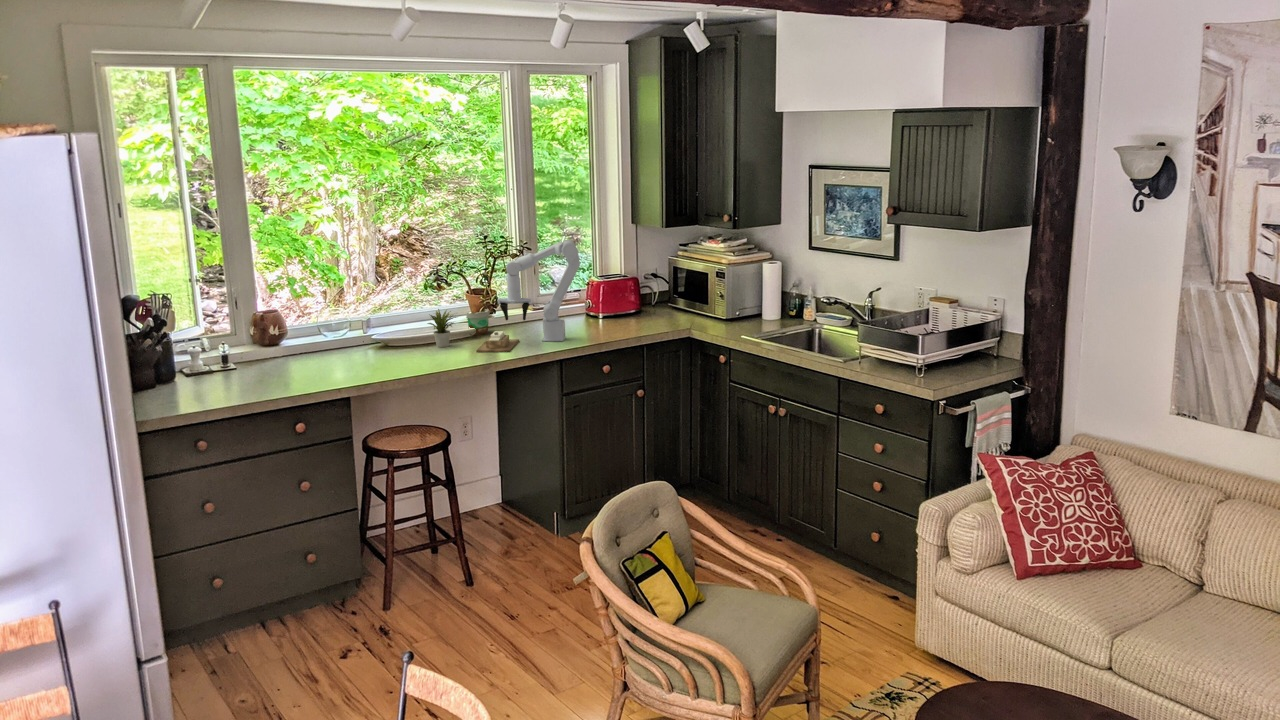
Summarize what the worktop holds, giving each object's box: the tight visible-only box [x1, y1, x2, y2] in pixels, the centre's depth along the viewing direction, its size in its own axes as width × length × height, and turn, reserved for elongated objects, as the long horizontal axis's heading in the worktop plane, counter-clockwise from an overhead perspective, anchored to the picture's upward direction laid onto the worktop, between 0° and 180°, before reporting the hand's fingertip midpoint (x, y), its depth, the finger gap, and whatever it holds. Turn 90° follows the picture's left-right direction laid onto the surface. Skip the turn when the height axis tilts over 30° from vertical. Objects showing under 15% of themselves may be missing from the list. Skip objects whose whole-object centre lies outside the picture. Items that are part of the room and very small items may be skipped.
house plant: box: [426, 308, 458, 348], centre depth 427 cm, size 14×14×16 cm
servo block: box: [488, 330, 507, 341], centre depth 426 cm, size 4×13×6 cm, turn 175°
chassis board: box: [475, 334, 520, 353], centre depth 427 cm, size 14×20×4 cm
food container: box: [465, 308, 491, 336], centre depth 451 cm, size 12×6×10 cm, turn 143°
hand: (515, 319), depth 434 cm, fingers open, 7 cm apart
